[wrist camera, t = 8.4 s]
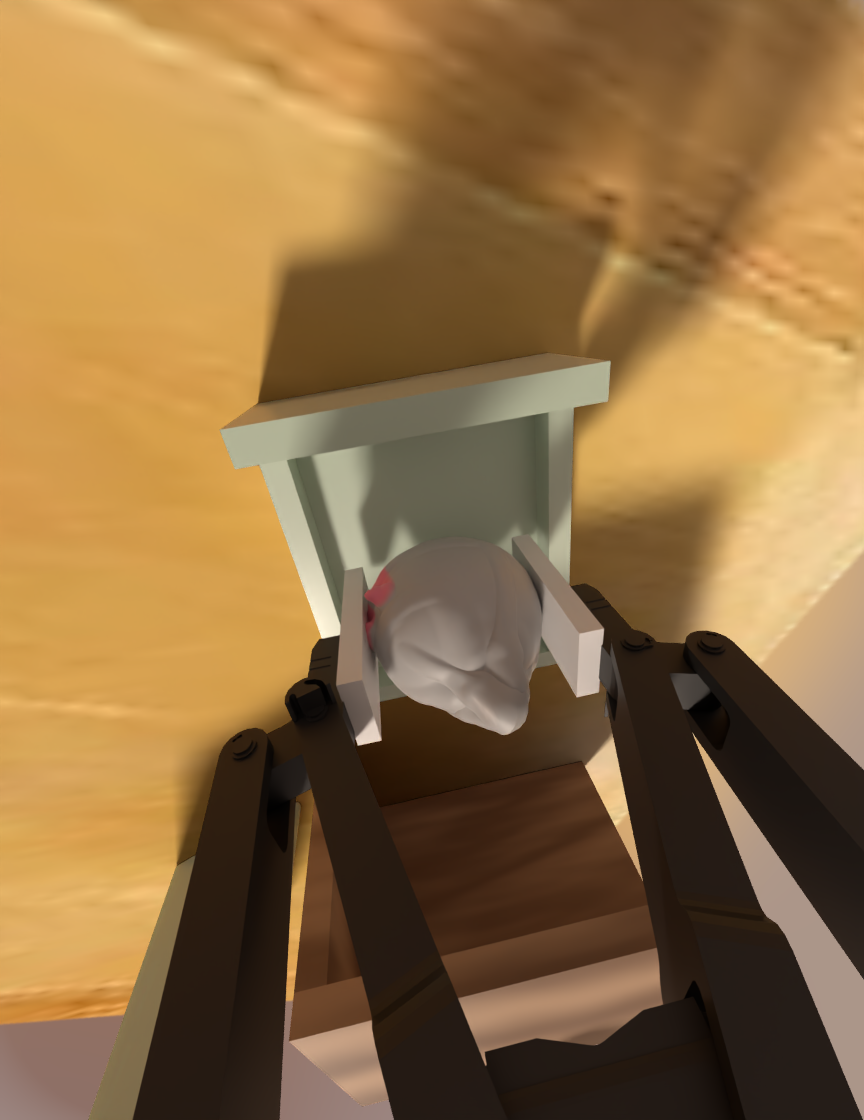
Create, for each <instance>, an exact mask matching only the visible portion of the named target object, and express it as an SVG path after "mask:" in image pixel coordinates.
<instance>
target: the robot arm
mask: <svg viewBox="0 0 864 1120" xmlns="http://www.w3.org/2000/svg"><path fill="white" fill-rule="evenodd" d="M512 555H513V557H514V558H515V559H516V560H517V561H518V562H519V563H520V564H521V565H522V566H523V567H524V568H525V570H526V571H527V572H528V574H529V575H530V577H531V579H532V581H533V584H534V587H535V589H536V591H537V594H538V597H539V601H540V606H541V612H542V633H541V636H542V638H543V640H544V641H545V643H546V645H547V647H548V648H549V650H550V652H551V654H552V655H553V657H554V659H555V661H556V662H557V664H558V666H559V668H560V669H561V671H562V673H563V674H564V676H565V678H566V680H567V681H568V683H569V685H570V687H571V688H572V690H573V692H574V694H575V695H576V697H581V696H585V695H590V694H594V693H599V684H600V681H601V682H602V684H603V685H604V687H605V688H606V690H607V692H606V703H605V715H604V717H608V713H609V718H610V723H611V728H612V733H613V738H614V743H615V747H616V752H617V757H618V762H619V767H620V772H621V777H622V781H623V786H624V791H625V796H626V801H627V806H628V810H629V815H630V820H631V825H632V830H633V835H634V839H635V844H636V849H637V854H638V859H639V864H640V869H641V874H642V878H643V883H644V888H645V893H646V898H647V903H648V907H649V912H650V917H651V922H652V927H653V932H654V937H655V941H656V946H657V952H658V958H659V972H660V986H661V995H662V1001H663V1005H660V1006H656V1007H652V1008H649V1009H645V1010H642V1011H641V1012H640V1013H639V1014H637V1015H636V1016H635V1017H634V1018H632V1019H631V1020H630V1021H629V1022H627V1023H626V1024H625V1025H624V1026H622V1027H621V1028H620V1029H618V1030H617V1031H616V1032H615V1033H613V1034H612V1035H611V1036H610V1037H608V1038H607V1039H606V1040H605V1041H603V1042H602V1043H600V1044H598V1045H585V1044H578V1043H570V1042H562V1041H555V1040H547V1039H540V1038H535V1039H531V1040H528V1041H524V1042H520V1043H516V1044H512V1045H509V1046H505V1047H501V1048H497V1049H494V1050H490V1051H486V1052H485V1058H486V1064H487V1065H486V1066H485V1063H484V1061H483V1058H482V1056H481V1053H480V1051H479V1048H478V1046H477V1044H476V1041H475V1039H474V1036H473V1034H472V1031H471V1029H470V1026H469V1024H468V1021H467V1019H466V1017H465V1014H464V1012H463V1009H462V1007H461V1004H460V1002H459V999H458V997H457V994H456V992H455V990H454V987H453V985H452V982H451V980H450V978H449V975H448V973H447V971H446V968H445V966H444V964H443V962H442V959H441V957H440V954H439V952H438V950H437V947H436V945H435V942H434V940H433V937H432V935H431V932H430V930H429V927H428V925H427V923H426V920H425V918H424V915H423V913H422V910H421V908H420V905H419V903H418V900H417V898H416V895H415V893H414V891H413V888H412V886H411V883H410V881H409V878H408V876H407V873H406V871H405V868H404V866H403V864H402V861H401V859H400V856H399V854H398V851H397V849H396V846H395V844H394V841H393V839H392V836H391V834H390V832H389V829H388V827H387V824H386V822H385V819H384V817H383V814H382V812H381V809H380V807H379V804H378V802H377V800H376V797H375V795H374V792H373V790H372V787H371V785H370V782H369V780H368V777H367V775H366V772H365V770H364V768H363V765H362V763H361V760H360V758H359V755H358V753H357V750H356V748H355V738H356V741H357V744H358V746H359V745H363V744H368V743H373V742H377V741H382V740H381V718H380V695H379V673H378V658H377V655H376V653H375V652H374V651H373V650H371V648H370V646H369V642H368V638H367V633H366V625H365V624H366V623H367V622H369V621H368V616H367V612H368V600H367V599H366V598H365V597H364V595H365V593H366V592H367V590H369V589H368V586H367V582H366V578H365V574H364V571H363V567H360V568H355V569H350V570H345V575H344V588H343V601H342V614H341V628H340V635H338V636H333V637H328V638H323V639H319V640H318V642H317V643H316V645H315V646H314V648H313V649H312V654H311V660H310V661H311V662H310V666H309V673H308V678H304V679H302V680H300V681H299V682H297V683H295V684H294V685H293V686H292V687H291V688H290V689H289V690H288V692H287V694H286V696H285V705H286V707H287V709H288V711H289V713H290V716H291V718H292V720H291V721H290V722H289V723H287V724H286V725H284V726H282V727H280V728H278V729H276V730H274V731H272V732H270V733H268V734H266V733H265V732H264V731H263V730H261V729H258V728H252V729H246V730H244V731H242V732H239V733H237V734H236V735H235V736H233V737H232V738H231V739H230V740H229V741H228V742H227V743H226V744H225V745H224V747H223V749H222V751H221V753H220V755H219V760H218V764H217V768H216V772H215V776H214V780H213V785H212V789H211V793H210V797H209V801H208V806H207V810H206V814H205V818H204V822H203V827H202V831H201V835H200V839H199V843H198V847H197V852H196V856H195V860H194V864H193V868H192V873H191V877H190V881H189V885H188V889H187V893H186V898H185V902H184V906H183V910H182V914H181V919H180V923H179V927H178V931H177V935H176V940H175V944H174V948H173V952H172V956H171V960H170V965H169V969H168V973H167V977H166V981H165V986H164V990H163V994H162V998H161V1002H160V1007H159V1011H158V1015H157V1019H156V1023H155V1027H154V1032H153V1036H152V1040H151V1044H150V1048H149V1053H148V1057H147V1061H146V1065H145V1069H144V1073H143V1078H142V1082H141V1086H140V1090H139V1094H138V1099H137V1103H136V1107H135V1111H134V1115H133V1120H279V1118H280V1098H281V1079H282V1059H283V1040H284V1021H285V1001H286V982H287V962H288V943H289V923H290V904H291V885H292V865H293V846H294V826H295V807H296V796H298V795H300V794H302V793H304V792H305V791H307V790H309V789H312V793H313V796H314V800H315V804H316V808H317V811H318V815H319V819H320V823H321V826H322V830H323V834H324V838H325V842H326V845H327V849H328V853H329V857H330V860H331V864H332V868H333V872H334V875H335V879H336V883H337V887H338V890H339V894H340V898H341V902H342V905H343V909H344V913H345V917H346V920H347V924H348V928H349V932H350V935H351V939H352V943H353V947H354V950H355V954H356V958H357V962H358V965H359V969H360V973H361V977H362V981H363V984H364V988H365V992H366V996H367V999H368V1003H369V1007H370V1012H371V1017H372V1032H373V1037H374V1043H375V1047H376V1051H377V1055H378V1060H379V1064H380V1067H381V1071H382V1075H383V1079H384V1083H385V1087H386V1091H387V1094H388V1098H389V1102H390V1106H391V1110H392V1114H393V1117H394V1120H863V1119H862V1116H861V1114H860V1112H859V1109H858V1107H857V1104H856V1102H855V1100H854V1097H853V1095H852V1092H851V1090H850V1088H849V1085H848V1083H847V1081H846V1078H845V1076H844V1073H843V1071H842V1068H841V1066H840V1064H839V1061H838V1059H837V1056H836V1054H835V1051H834V1049H833V1047H832V1044H831V1042H830V1039H829V1037H828V1035H827V1032H826V1030H825V1027H824V1025H823V1022H822V1020H821V1018H820V1015H819V1013H818V1010H817V1008H816V1006H815V1003H814V1001H813V998H812V996H811V994H810V991H809V989H808V987H807V984H806V982H805V979H804V977H803V974H802V972H801V969H800V967H799V965H798V962H797V960H796V957H795V955H794V953H793V950H792V948H791V946H790V944H789V942H788V940H787V938H786V936H785V934H784V933H783V931H782V930H781V929H780V927H779V926H778V924H776V923H775V922H773V921H772V920H771V919H769V918H767V917H766V915H765V914H764V912H763V911H762V909H761V907H760V904H759V902H758V900H757V897H756V895H755V892H754V889H753V887H752V885H751V882H750V879H749V877H748V874H747V872H746V869H745V866H744V864H743V861H742V859H741V856H740V854H739V851H738V849H737V846H736V844H735V841H734V838H733V836H732V833H731V831H730V828H729V826H728V823H727V821H726V818H725V815H724V813H723V810H722V808H721V805H720V802H719V800H718V798H717V795H716V792H715V790H714V788H713V785H712V782H711V779H710V777H709V774H708V772H707V769H706V767H705V764H704V762H703V759H702V756H701V754H700V752H699V749H698V746H697V744H696V741H695V739H694V736H693V734H694V735H695V737H696V738H697V740H698V741H699V743H700V744H701V746H702V747H703V748H704V750H705V751H706V753H707V754H708V755H709V757H710V758H711V760H712V761H713V762H714V764H715V766H716V767H717V769H718V770H719V771H720V773H721V774H722V776H723V777H724V779H725V780H726V782H727V783H728V784H729V786H730V787H731V789H732V790H733V792H734V793H735V795H736V796H737V797H738V799H739V800H740V802H741V803H742V805H743V806H744V807H745V809H746V810H747V812H748V813H749V815H750V816H751V818H752V819H753V820H754V822H755V823H756V825H757V826H758V828H759V829H760V831H761V832H762V833H763V835H764V836H765V838H766V839H767V841H768V842H769V843H770V845H771V846H772V848H773V849H774V851H775V852H776V854H777V855H778V856H779V858H780V859H781V861H782V862H783V864H784V865H785V867H786V868H787V869H788V871H789V872H790V874H791V875H792V876H793V878H794V879H795V881H796V882H797V884H798V885H799V887H800V888H801V889H802V891H803V893H804V894H805V895H806V897H807V898H808V900H809V901H810V902H811V904H812V905H813V907H814V908H815V910H816V911H817V913H818V914H819V916H820V917H821V918H822V920H823V921H824V923H825V924H826V926H827V927H828V929H829V930H830V931H831V933H832V934H833V936H834V937H835V939H836V940H837V942H838V943H839V944H840V946H841V947H842V949H843V950H844V951H845V953H846V954H847V956H848V957H849V959H850V960H851V962H852V963H853V965H854V966H855V967H856V969H857V970H858V972H859V973H860V975H861V976H862V978H863V979H864V770H863V769H862V768H861V767H860V766H859V765H858V764H857V763H856V762H855V761H854V760H853V759H852V758H851V757H850V756H849V755H848V754H847V753H846V752H845V751H844V750H843V749H842V748H841V747H840V746H839V745H838V744H837V743H836V742H835V741H834V740H833V739H832V738H831V737H830V736H829V735H827V733H825V732H824V731H823V730H822V729H821V728H820V727H819V726H818V725H817V724H816V723H815V722H814V721H813V720H812V719H811V718H810V717H809V716H808V715H807V714H806V713H805V712H804V711H803V710H802V709H801V708H800V707H799V706H798V705H797V704H796V703H795V702H794V701H793V700H792V699H791V698H790V697H789V696H788V695H787V694H786V693H785V692H784V691H783V690H782V689H781V688H780V687H779V686H778V685H777V684H775V683H774V681H773V680H772V679H770V677H769V676H768V675H766V674H765V673H764V672H763V671H762V670H761V669H760V668H759V667H758V666H757V665H756V664H755V663H754V662H753V661H752V660H751V659H750V658H749V657H748V656H747V655H746V654H745V653H744V652H743V651H742V650H741V649H740V648H739V647H738V646H737V645H736V644H735V643H734V642H733V641H731V640H730V639H729V638H727V637H726V636H723V635H721V634H719V633H715V632H710V631H696V632H693V633H690V634H689V635H688V636H687V637H686V641H685V644H684V643H661V642H656V641H655V640H654V638H652V637H651V636H649V635H648V634H646V633H644V632H641V631H637V630H633V629H632V628H631V627H630V626H629V625H628V624H627V623H626V621H625V620H624V619H623V618H622V617H621V616H620V615H619V614H618V612H617V611H616V610H615V609H614V608H613V607H611V605H610V603H609V602H608V601H607V600H605V598H604V597H603V596H602V595H601V593H600V592H599V591H598V590H597V589H595V588H593V587H591V586H589V585H587V584H581V585H576V586H571V587H570V585H569V584H568V583H567V582H566V580H565V579H564V578H563V577H562V575H561V574H560V573H559V572H558V570H557V569H556V568H555V567H554V565H553V564H552V563H551V562H550V560H549V559H548V558H547V557H546V555H545V554H544V553H543V552H542V550H541V549H540V548H539V547H538V545H537V544H536V543H535V542H534V540H533V539H532V538H531V537H530V535H529V534H526V535H521V536H516V537H512Z"/></svg>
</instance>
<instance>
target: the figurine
mask: <svg viewBox="0 0 864 1120" xmlns="http://www.w3.org/2000/svg"><path fill="white" fill-rule="evenodd" d="M364 597H365V598H366V599H367V600H368V612H367V616H368V621H369V622H367V623H366V624H365V625H366V633H367V638H368V642H369V646H370V648H371V650H373V651H374V652H375V653H376V655H377V658H378V660H379V661H380V663H381V664H382V666H383V668H384V670H385V672H386V673H387V675H388V677H389V678H390V679H391V680H392V682H393V683H394V684H395V685H396V686H397V687H398V688H399V689H400V690H401V691H402V692H403V693H404V694H406V695H407V696H408V697H410V698H411V699H413V700H415V701H417V702H419V703H421V704H425V705H430V706H434V707H436V708H439V709H442V710H445V711H447V712H448V713H449V714H451V715H452V716H454V717H456V718H458V719H460V720H461V721H464V722H466V723H471V724H476V725H478V726H480V727H483V728H485V729H488V730H492V731H495V732H497V733H499V734H501V735H507V734H510V733H512V732H514V731H515V730H517V729H519V728H520V727H521V726H522V725H523V723H524V722H525V721H526V717H527V714H528V703H529V700H530V689H529V681H530V679H531V675H532V672H533V671H534V669H535V667H536V665H537V662H538V656H539V650H540V642H541V633H542V612H541V606H540V601H539V597H538V594H537V591H536V589H535V587H534V584H533V581H532V579H531V577H530V575H529V574H528V572H527V571H526V570H525V568H524V567H523V566H522V565H521V564H520V563H519V562H518V561H517V560H516V559H515V558H514V557H513V556H512V555H511V554H509V553H508V552H507V551H505V550H503V549H502V548H500V547H499V546H497V545H494V544H492V543H490V542H486V541H482V540H479V539H474V538H467V537H457V536H453V537H443V538H437V539H432V540H428V541H425V542H422V543H420V544H418V545H416V546H414V547H412V548H410V549H408V550H406V551H404V552H403V553H401V554H399V555H398V556H396V557H395V558H394V559H392V560H391V561H390V562H389V563H388V564H387V565H386V566H385V567H384V568H383V570H382V571H381V572H380V574H379V576H378V578H377V580H376V582H375V584H374V585H373V587H372V589H370V590H367V592H366V593H365V595H364Z"/></svg>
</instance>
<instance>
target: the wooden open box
mask: <svg viewBox="0 0 864 1120" xmlns="http://www.w3.org/2000/svg"><path fill="white" fill-rule="evenodd" d="M380 809H381V812H382V814H383V817H384V819H385V822H386V824H387V827H388V829H389V832H390V834H391V836H392V839H393V841H394V844H395V846H396V849H397V851H398V854H399V856H400V859H401V861H402V864H403V866H404V868H405V871H406V873H407V876H408V878H409V881H410V883H411V886H412V888H413V891H414V893H415V895H416V898H417V900H418V903H419V905H420V908H421V910H422V913H423V915H424V918H425V920H426V923H427V925H428V927H429V930H430V932H431V935H432V937H433V940H434V942H435V945H436V947H437V950H438V952H439V954H440V957H441V959H442V962H443V964H444V966H445V968H446V971H447V973H448V975H449V978H450V980H451V982H452V985H453V987H454V990H455V992H456V994H457V997H458V999H459V1002H460V1004H461V1007H462V1009H463V1012H464V1014H465V1017H466V1019H467V1021H468V1024H469V1026H470V1029H471V1031H472V1034H473V1036H474V1039H475V1041H476V1044H477V1046H478V1048H479V1051H480V1053H481V1056H482V1058H483V1061H484V1063H485V1066H486V1065H487V1064H486V1058H485V1052H486V1051H490V1050H494V1049H497V1048H501V1047H505V1046H509V1045H512V1044H516V1043H520V1042H524V1041H528V1040H531V1039H535V1038H540V1039H547V1040H555V1041H562V1042H570V1043H578V1044H585V1045H596V1044H600V1043H602V1042H603V1041H605V1040H606V1039H607V1038H608V1037H610V1036H611V1035H612V1034H613V1033H615V1032H616V1031H617V1030H618V1029H620V1028H621V1027H622V1026H624V1025H625V1024H626V1023H627V1022H629V1021H630V1020H631V1019H632V1018H634V1017H635V1016H636V1015H637V1014H639V1013H640V1012H641V1011H642V1010H645V1009H649V1008H652V1007H656V1006H660V1005H663V1001H662V995H661V986H660V972H659V958H658V952H657V946H656V941H655V937H654V932H653V927H652V922H651V917H650V912H649V907H648V903H647V898H646V893H645V888H644V883H643V881H642V879H641V877H640V875H639V873H638V871H637V869H636V867H635V865H634V863H633V861H632V859H631V857H630V855H629V853H628V851H627V849H626V847H625V845H624V843H623V841H622V839H621V837H620V836H619V833H618V832H617V830H616V827H615V825H614V823H613V821H612V819H611V818H610V816H609V814H608V812H607V810H606V808H605V806H604V804H603V802H602V800H601V798H600V796H599V794H598V792H597V790H596V788H595V786H594V784H593V782H592V780H591V778H590V776H589V774H588V772H587V770H586V768H585V766H584V764H583V762H582V761H581V762H577V763H572V764H568V765H564V766H559V767H555V768H550V769H546V770H542V771H537V772H533V773H529V774H524V775H520V776H515V777H511V778H507V779H502V780H498V781H494V782H489V783H485V784H480V785H476V786H472V787H467V788H463V789H458V790H454V791H450V792H445V793H441V794H437V795H432V796H428V797H423V798H419V799H415V800H410V801H406V802H401V803H397V804H393V805H388V806H384V807H380ZM289 1042H290V1043H291V1044H293V1045H294V1046H295V1047H296V1048H297V1049H298V1050H299V1051H300V1052H301V1053H302V1054H304V1055H305V1056H306V1057H307V1058H308V1059H309V1060H310V1061H312V1062H313V1063H314V1064H315V1065H316V1066H317V1067H318V1068H319V1069H321V1070H322V1071H323V1072H324V1073H325V1074H326V1075H327V1076H328V1077H330V1078H331V1079H332V1080H333V1081H334V1082H335V1083H336V1084H337V1085H338V1086H339V1087H341V1088H342V1089H343V1090H344V1091H345V1092H346V1093H347V1094H349V1095H350V1096H351V1097H352V1098H353V1099H354V1100H355V1101H356V1102H357V1103H359V1104H360V1105H361V1106H362V1107H363V1106H367V1105H370V1104H374V1103H378V1102H382V1101H385V1100H389V1098H388V1094H387V1091H386V1087H385V1083H384V1079H383V1075H382V1071H381V1067H380V1064H379V1060H378V1055H377V1051H376V1047H375V1043H374V1037H373V1032H372V1017H371V1012H370V1007H369V1003H368V999H367V996H366V992H365V988H364V984H363V981H362V977H361V973H360V969H359V965H358V962H357V958H356V954H355V950H354V947H353V943H352V939H351V935H350V932H349V928H348V924H347V920H346V917H345V913H344V909H343V905H342V902H341V898H340V894H339V890H338V887H337V883H336V879H335V875H334V872H333V868H332V864H331V860H330V857H329V853H328V849H327V845H326V842H325V838H324V834H323V830H322V826H321V823H320V819H319V815H318V811H317V808H316V804H315V800H314V809H313V819H312V828H311V838H310V847H309V857H308V866H307V876H306V885H305V894H304V904H303V913H302V923H301V932H300V942H299V951H298V961H297V970H296V980H295V989H294V999H293V1009H292V1018H291V1027H290V1037H289Z"/></svg>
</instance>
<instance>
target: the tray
mask: <svg viewBox="0 0 864 1120" xmlns="http://www.w3.org/2000/svg"><path fill="white" fill-rule="evenodd" d="M610 364H611V361H609V360H601V359H593V358H586V357H578V356H570V355H562V354H555V353H544V354H539V355H533V356H527V357H521V358H516V359H510V360H504V361H498V362H493V363H487V364H481V365H476V366H470V367H464V368H458V369H453V370H447V371H441V372H435V373H430V374H424V375H418V376H413V377H407V378H401V379H395V380H390V381H384V382H378V383H372V384H367V385H361V386H355V387H350V388H344V389H338V390H332V391H327V392H321V393H315V394H309V395H304V396H298V397H292V398H287V399H281V400H275V401H269V402H264V403H258V404H256V405H255V406H253V407H252V408H250V409H249V410H247V411H246V412H245V413H243V414H242V415H240V416H239V417H237V418H236V419H235V420H233V421H232V422H230V423H229V424H227V425H226V426H225V427H223V428H222V429H220V432H221V435H222V437H223V440H224V442H225V445H226V448H227V450H228V453H229V455H230V458H231V460H232V463H233V465H234V468H235V469H240V468H245V467H251V466H256V465H260V468H261V471H262V473H263V476H264V479H265V482H266V485H267V487H268V490H269V493H270V496H271V498H272V501H273V504H274V507H275V510H276V512H277V515H278V518H279V521H280V523H281V526H282V529H283V532H284V534H285V537H286V540H287V543H288V546H289V548H290V551H291V554H292V557H293V559H294V562H295V565H296V568H297V571H298V573H299V576H300V579H301V582H302V584H303V587H304V590H305V593H306V595H307V598H308V601H309V604H310V607H311V609H312V612H313V615H314V618H315V620H316V623H317V626H318V629H319V631H320V634H321V637H322V639H323V638H328V637H333V636H338V635H340V628H341V614H342V601H343V588H344V575H345V570H350V569H355V568H360V567H363V571H364V574H365V578H366V582H367V586H368V589H369V590H370V589H372V587H373V585H374V584H375V582H376V580H377V578H378V576H379V574H380V572H381V571H382V570H383V568H384V567H385V566H386V565H387V564H388V563H389V562H390V561H391V560H392V559H394V558H395V557H396V556H398V555H399V554H401V553H403V552H404V551H406V550H408V549H410V548H412V547H414V546H416V545H418V544H420V543H422V542H425V541H428V540H432V539H437V538H443V537H453V536H457V537H467V538H474V539H479V540H482V541H486V542H490V543H492V544H494V545H497V546H499V547H500V548H502V549H503V550H505V551H507V552H508V553H509V554H511V555H512V537H516V536H521V535H526V534H529V535H530V537H531V538H532V539H533V540H534V542H535V543H536V544H537V545H538V547H539V548H540V549H541V550H542V552H543V553H544V554H545V555H546V557H547V558H548V559H549V560H550V562H551V563H552V564H553V565H554V567H555V568H556V569H557V570H558V572H559V573H560V574H561V575H562V577H563V578H564V579H565V580H566V582H567V583H568V584H569V582H570V542H571V502H572V462H573V423H574V407H580V406H585V405H591V404H596V403H602V402H607V401H608V395H609V379H610ZM512 556H513V555H512ZM554 664H557V662H556V661H555V659H554V657H553V655H552V654H551V652H550V650H549V648H548V647H547V645H546V643H545V641H544V640H543V638H542V636H541V642H540V650H539V656H538V662H537V665H536V667H535V668H540V667H544V666H549V665H554ZM378 673H379V695H380V702H381V701H386V700H391V699H395V698H400V697H405V696H407V695H406V694H404V693H403V692H402V691H401V690H400V689H399V688H398V687H397V686H396V685H395V684H394V683H393V682H392V680H391V679H390V678H389V677H388V675H387V673H386V672H385V670H384V668H383V666H382V664H381V663H380V661H379V660H378Z"/></svg>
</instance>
